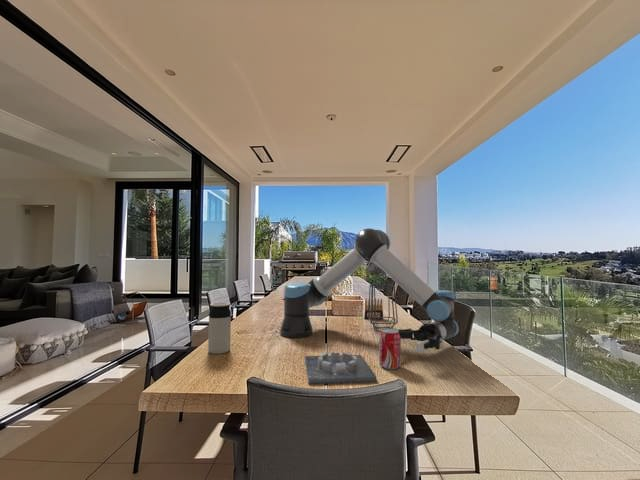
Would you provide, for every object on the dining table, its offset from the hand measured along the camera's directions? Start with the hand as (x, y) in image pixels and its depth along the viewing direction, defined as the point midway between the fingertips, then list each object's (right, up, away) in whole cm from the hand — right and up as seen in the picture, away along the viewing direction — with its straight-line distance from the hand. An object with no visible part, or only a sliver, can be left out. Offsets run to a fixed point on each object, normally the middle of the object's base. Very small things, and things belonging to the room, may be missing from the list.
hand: (399, 343), depth 109 cm
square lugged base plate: (-22, -7, -7) cm, 24 cm away
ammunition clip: (+3, -10, +73) cm, 74 cm away
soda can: (-4, -7, -3) cm, 9 cm away
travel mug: (-66, -7, +12) cm, 67 cm away
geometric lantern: (+3, -9, +48) cm, 49 cm away
